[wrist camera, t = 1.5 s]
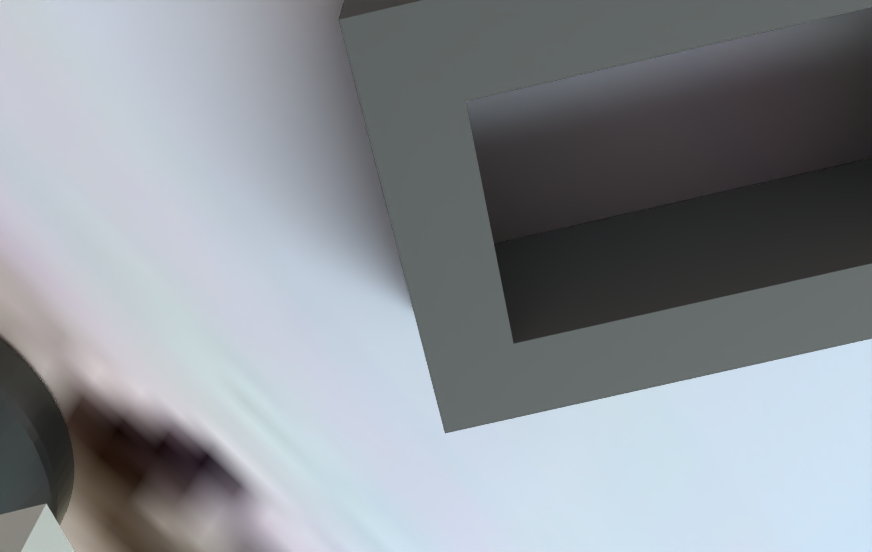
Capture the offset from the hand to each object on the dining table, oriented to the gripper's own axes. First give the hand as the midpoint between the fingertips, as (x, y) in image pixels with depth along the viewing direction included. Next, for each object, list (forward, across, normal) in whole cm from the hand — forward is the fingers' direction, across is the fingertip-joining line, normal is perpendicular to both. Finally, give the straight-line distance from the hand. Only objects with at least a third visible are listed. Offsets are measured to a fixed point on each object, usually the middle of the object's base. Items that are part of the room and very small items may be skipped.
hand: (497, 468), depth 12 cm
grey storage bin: (+16, +9, 0) cm, 19 cm away
